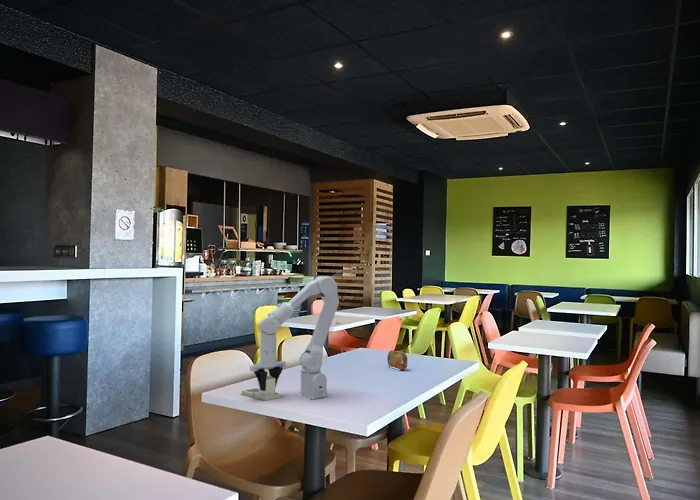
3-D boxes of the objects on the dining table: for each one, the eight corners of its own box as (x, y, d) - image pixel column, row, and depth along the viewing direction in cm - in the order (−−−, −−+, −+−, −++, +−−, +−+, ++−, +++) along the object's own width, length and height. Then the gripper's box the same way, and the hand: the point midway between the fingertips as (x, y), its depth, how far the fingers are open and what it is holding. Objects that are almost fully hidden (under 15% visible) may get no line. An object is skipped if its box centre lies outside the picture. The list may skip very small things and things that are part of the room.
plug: (275, 395, 194) (275, 376, 194) (266, 396, 191) (266, 377, 191) (268, 393, 197) (268, 375, 197) (259, 395, 194) (259, 376, 194)
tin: (386, 366, 262) (386, 349, 263) (392, 366, 264) (392, 348, 264) (402, 371, 249) (402, 353, 249) (408, 371, 250) (408, 352, 251)
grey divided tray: (284, 398, 194) (284, 393, 194) (263, 402, 188) (263, 397, 188) (258, 392, 205) (258, 387, 205) (238, 395, 198) (238, 390, 199)
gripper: (277, 348, 202) (277, 385, 202) (244, 352, 192) (244, 390, 191) (289, 350, 197) (289, 387, 197) (256, 354, 187) (256, 394, 186)
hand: (268, 389), depth 194 cm, fingers closed on plug, 4 cm apart
